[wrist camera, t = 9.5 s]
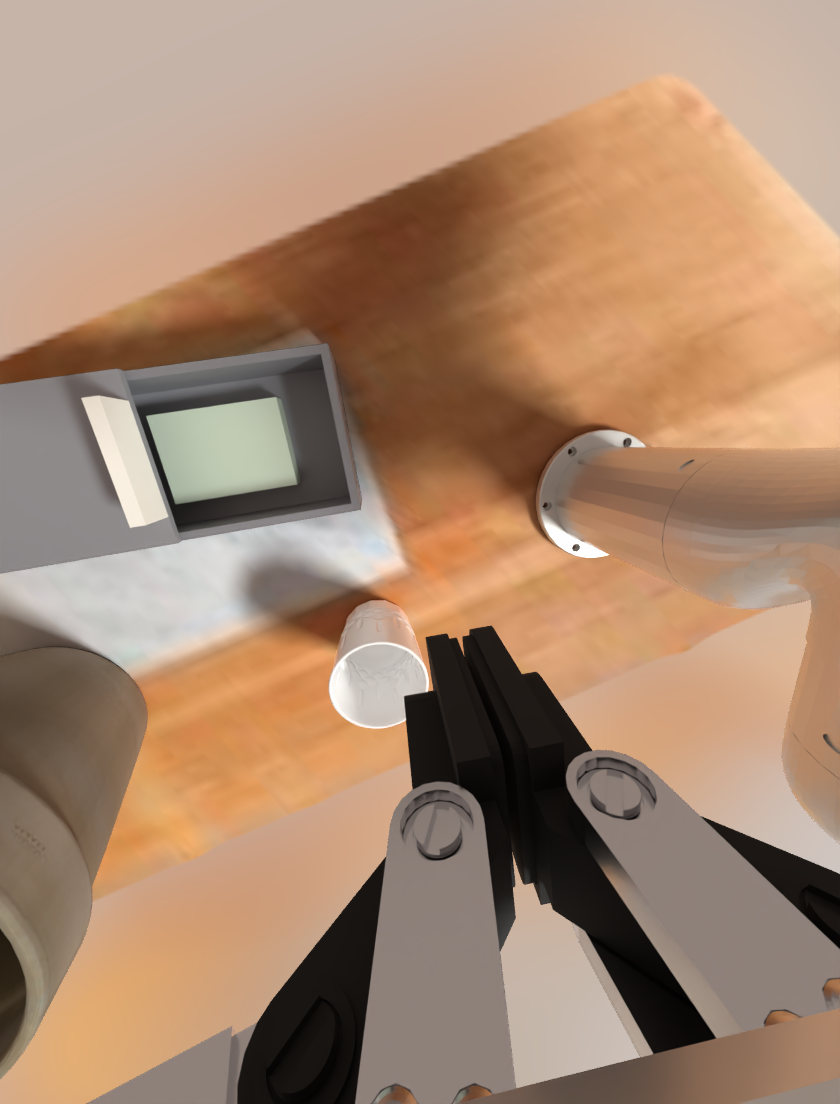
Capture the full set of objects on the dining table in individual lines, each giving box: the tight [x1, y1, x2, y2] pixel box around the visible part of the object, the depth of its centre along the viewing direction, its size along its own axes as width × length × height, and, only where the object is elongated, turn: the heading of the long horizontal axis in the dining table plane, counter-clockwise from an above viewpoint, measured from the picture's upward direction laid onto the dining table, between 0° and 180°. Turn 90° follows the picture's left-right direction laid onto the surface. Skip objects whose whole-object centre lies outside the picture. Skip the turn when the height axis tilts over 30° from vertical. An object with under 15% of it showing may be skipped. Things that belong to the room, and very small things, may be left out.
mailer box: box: [124, 343, 362, 541], centre depth 31 cm, size 20×12×6 cm, turn 99°
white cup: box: [329, 600, 429, 728], centre depth 36 cm, size 8×8×10 cm
